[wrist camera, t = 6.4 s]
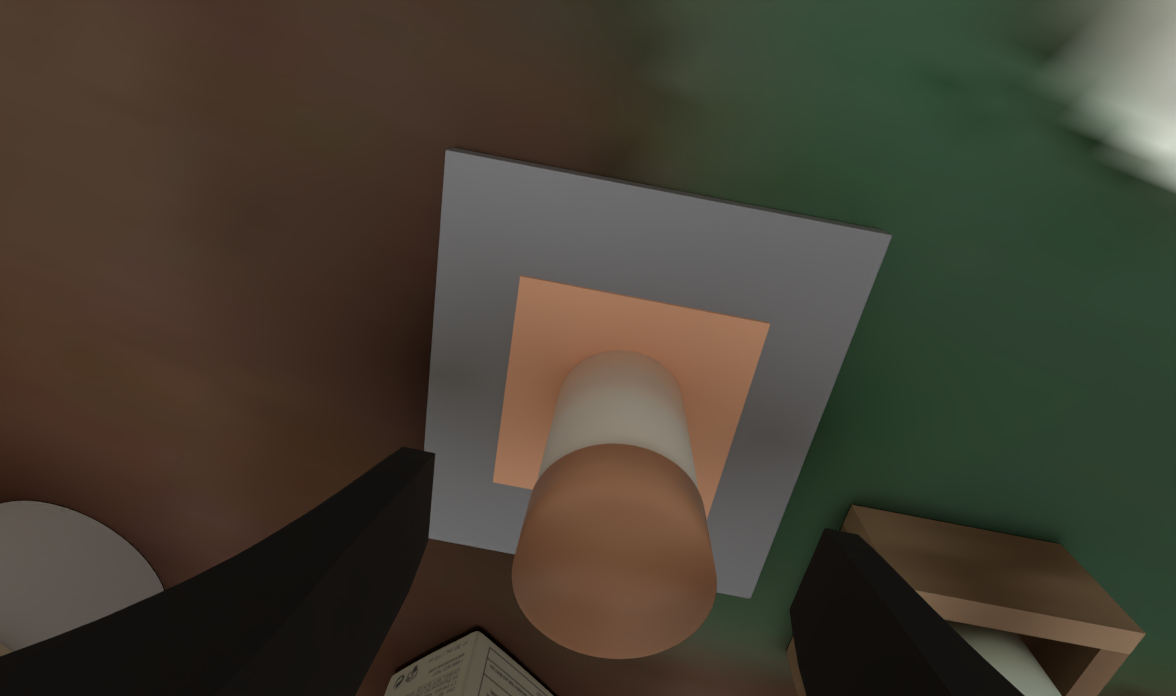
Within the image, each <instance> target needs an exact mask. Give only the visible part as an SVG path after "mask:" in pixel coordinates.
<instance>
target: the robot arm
mask: <svg viewBox="0 0 1176 696" xmlns="http://www.w3.org/2000/svg"><path fill="white" fill-rule="evenodd" d="M434 465H435V453H432V452H427V451H422V450H417V449H411V448H406V447H402V448H400V449H399V450H397V451H396V452H394V453H393V454H391V455H390V456H388V457H387V458H386V459H384V460H383V461H381V462H380V463H379V464H377V465H376V466H374V467H373V468H372V469H370V470H369V471H367V472H366V473H365V474H363V475H362V476H360V477H359V478H358V479H356V480H355V481H353V482H352V483H351V484H349V485H348V486H346V487H345V488H343V489H342V490H340V491H339V492H338V493H336V494H335V495H333V496H332V497H330V498H329V499H327V500H326V501H324V502H323V503H321V504H320V505H318V506H317V507H315V508H314V509H312V510H311V511H309V512H308V513H306V514H305V515H303V516H301V517H300V518H298V519H297V520H295V521H293V522H292V523H290V524H288V525H287V526H285V527H283V528H282V529H280V530H279V531H277V532H275V533H274V534H272V535H270V536H269V537H267V538H265V539H264V540H262V541H261V542H259V543H257V544H255V545H254V546H252V547H250V548H248V549H246V550H245V551H243V552H241V553H239V554H237V555H236V556H234V557H232V558H230V559H228V560H226V561H224V562H222V563H220V564H218V565H216V566H214V567H212V568H210V569H208V570H207V571H205V572H203V573H201V574H199V575H197V576H195V577H193V578H191V579H188V580H186V581H184V582H182V583H180V584H178V585H176V586H173V587H171V588H169V589H167V590H164V591H162V592H160V593H158V594H155V595H153V596H151V597H149V598H146V599H144V600H142V601H139V602H137V603H135V604H133V605H130V606H128V607H126V608H124V609H121V610H119V611H117V612H115V613H112V614H110V615H108V616H105V617H103V618H100V619H98V620H96V621H93V622H90V623H88V624H85V625H83V626H80V627H78V628H75V629H73V630H70V631H67V632H65V633H62V634H60V635H57V636H55V637H52V638H49V639H47V640H44V641H41V642H38V643H36V644H33V645H30V646H27V647H25V648H22V649H19V650H16V651H14V652H11V653H8V654H5V655H3V656H0V696H355V694H356V692H357V691H358V689H359V687H360V685H361V683H362V681H363V679H364V677H365V675H366V673H367V671H368V669H369V668H370V666H371V664H372V662H373V660H374V658H375V656H376V654H377V652H378V650H379V648H380V646H381V645H382V643H383V641H384V639H385V637H386V635H387V633H388V631H389V629H390V627H391V625H392V623H393V621H394V619H395V618H396V616H397V614H398V612H399V610H400V608H401V606H402V604H403V602H404V600H405V598H406V596H407V594H408V592H409V590H410V587H411V585H412V582H413V579H414V577H415V574H416V572H417V569H418V567H419V564H420V561H421V559H422V556H423V553H424V550H425V548H426V545H427V542H428V538H429V526H430V514H431V502H432V490H433V477H434ZM790 616H791V623H792V630H793V637H794V644H795V650H796V655H797V661H798V667H799V671H800V674H801V678H802V682H803V685H804V689H805V692H806V696H1025V695H1024V694H1022V693H1021V692H1020V691H1019V690H1018V689H1017V688H1016V687H1015V686H1014V685H1013V684H1012V683H1010V682H1009V681H1008V680H1007V679H1006V678H1005V677H1004V676H1003V675H1002V674H1001V673H1000V672H998V671H997V670H996V669H995V668H994V667H993V666H992V665H991V664H990V663H989V662H988V661H986V660H985V659H984V658H983V657H982V656H981V655H980V654H979V653H978V652H977V651H976V650H975V649H974V648H973V647H972V646H971V645H970V644H969V643H968V642H966V641H965V640H964V639H963V638H962V637H961V636H960V635H959V634H958V633H957V632H956V631H955V630H954V629H953V628H952V627H951V626H950V625H949V624H948V623H947V622H946V621H945V620H944V619H943V618H942V617H941V616H940V615H939V614H938V613H937V612H936V611H935V610H934V609H933V608H932V607H931V606H930V605H929V604H928V603H927V602H926V601H925V600H924V599H923V598H922V597H921V596H920V595H919V594H918V593H917V592H916V591H915V590H914V589H913V588H912V587H911V586H910V585H909V584H908V583H907V582H906V581H905V580H904V579H903V578H902V577H901V576H900V575H899V574H898V573H897V572H896V571H895V570H894V568H893V567H892V566H891V565H890V564H889V563H888V562H887V561H886V560H885V559H884V558H883V557H882V556H881V555H879V554H878V553H877V552H876V551H875V550H874V549H873V548H872V547H871V546H870V545H869V544H868V543H867V542H866V541H865V540H864V539H863V538H861V537H860V536H859V535H858V534H853V533H848V532H843V531H838V530H832V529H827V528H825V529H824V531H823V533H822V536H821V538H820V540H819V543H818V545H817V547H816V550H815V552H814V554H813V557H812V559H811V561H810V564H809V566H808V568H807V570H806V573H805V575H804V577H803V580H802V582H801V584H800V587H799V589H798V591H797V594H796V596H795V598H794V601H793V603H792V605H791V608H790Z"/></svg>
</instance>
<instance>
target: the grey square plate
mask: <svg viewBox="0 0 1176 696" xmlns="http://www.w3.org/2000/svg"><path fill="white" fill-rule="evenodd" d="M891 237H892V235H891V234H889V233H887V232H885V231H883V230H881V229H875V228H870V227H865V226H860V225H855V224H849V223H844V222H839V221H834V220H828V219H823V218H818V217H813V216H808V215H802V214H797V213H792V212H787V211H781V210H776V209H771V208H766V207H761V206H755V205H750V204H745V203H740V202H734V201H729V200H724V199H719V198H714V197H708V196H703V195H698V194H693V193H687V192H682V191H677V190H672V189H667V188H661V187H656V186H651V185H646V184H640V183H635V182H630V181H625V180H619V179H614V178H609V177H604V176H599V175H593V174H588V173H583V172H578V171H572V170H567V169H562V168H557V167H552V166H546V165H541V164H536V163H531V162H525V161H520V160H515V159H510V158H505V157H499V156H494V155H489V154H484V153H478V152H473V151H468V150H463V149H458V148H451V149H447V150H446V154H445V168H444V182H443V196H442V209H441V223H440V237H439V251H438V264H437V278H436V292H435V305H434V319H433V333H432V347H431V360H430V374H429V388H428V401H427V415H426V429H425V443H424V451H427V452H432V453H435V465H434V477H433V490H432V502H431V514H430V526H429V538H431V539H436V540H441V541H447V542H452V543H457V544H463V545H468V546H473V547H478V548H484V549H489V550H494V551H500V552H505V553H510V554H515V553H516V549H517V545H518V541H519V537H520V534H521V530H522V526H523V522H524V518H525V515H526V511H527V507H528V503H529V499H530V496H531V492H532V490H533V488H534V486H535V484H536V482H537V479H538V475H539V471H540V467H541V463H542V459H543V455H544V451H545V447H546V443H547V439H548V435H549V431H550V427H551V423H552V420H553V416H554V412H555V408H556V404H557V400H558V396H559V392H560V389H561V386H562V384H563V382H564V380H565V378H566V377H567V375H568V374H569V373H570V372H571V370H572V369H573V368H574V367H575V366H577V365H578V364H579V363H580V362H582V361H583V360H585V359H587V358H588V357H590V356H592V355H595V354H598V353H601V352H606V351H613V350H627V351H634V352H637V353H641V354H644V355H646V356H649V357H651V358H653V359H655V360H656V361H658V362H659V363H661V364H662V365H663V366H664V367H665V368H666V369H667V370H668V371H669V372H670V373H671V374H672V375H673V377H674V378H675V380H676V381H677V383H678V385H679V388H680V390H681V394H682V398H683V403H684V409H685V415H686V420H687V426H688V432H689V438H690V444H691V449H692V455H693V461H694V467H695V472H696V478H697V484H698V490H699V493H700V495H701V498H702V500H703V504H704V508H705V514H706V519H707V525H708V530H709V536H710V541H711V547H712V553H713V558H714V564H715V569H716V576H717V590H716V592H717V593H722V594H728V595H733V596H738V597H743V598H749V599H751V596H752V594H753V591H754V588H755V586H756V583H757V581H758V578H759V576H760V573H761V571H762V568H763V565H764V563H765V560H766V558H767V555H768V553H769V550H770V547H771V545H772V542H773V540H774V537H775V535H776V532H777V530H778V527H779V524H780V522H781V519H782V517H783V514H784V512H785V509H786V506H787V504H788V501H789V499H790V496H791V494H792V491H793V488H794V486H795V483H796V481H797V478H798V476H799V473H800V471H801V468H802V465H803V463H804V460H805V458H806V455H807V453H808V450H809V447H810V445H811V442H812V440H813V437H814V435H815V432H816V430H817V427H818V424H819V422H820V419H821V417H822V414H823V412H824V409H825V406H826V404H827V401H828V399H829V396H830V394H831V391H832V389H833V386H834V383H835V381H836V378H837V376H838V373H839V371H840V368H841V365H842V363H843V360H844V358H845V355H846V353H847V350H848V347H849V345H850V342H851V340H852V337H853V335H854V332H855V330H856V327H857V324H858V322H859V319H860V317H861V314H862V312H863V309H864V306H865V304H866V301H867V299H868V296H869V294H870V291H871V289H872V286H873V283H874V281H875V278H876V276H877V273H878V271H879V268H880V265H881V263H882V260H883V258H884V255H885V253H886V250H887V248H888V245H889V242H890V240H891Z"/></svg>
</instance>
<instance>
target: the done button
mask: <svg viewBox="0 0 1176 696" xmlns="http://www.w3.org/2000/svg"><path fill="white" fill-rule="evenodd" d="M944 620H945V619H944ZM945 621H946V622H947V623H948V624H949V625H950V626H951V627H952V628H953V629H954V630H955V631H956V632H957V633H958V634H959V635H960V636H961V637H962V638H963V639H964V640H965V641H966V642H968V643H969V644H970V645H971V646H972V647H973V648H974V649H975V650H976V651H977V652H978V653H979V654H980V655H981V656H982V657H983V658H984V659H985V660H986V661H988V662H989V663H990V664H991V665H992V666H993V667H994V668H995V669H996V670H997V671H998V672H1000V673H1001V674H1002V675H1003V676H1004V677H1005V678H1006V679H1007V680H1008V681H1009V682H1010V683H1012V684H1013V685H1014V686H1015V687H1016V688H1017V689H1018V690H1019V691H1020V692H1021V693H1022V694H1024V695H1025V696H1062V695H1061V694H1060V692H1059V691H1058V690H1057V688H1056V687H1055V685H1054V684H1053V683H1052V681H1051V680H1050V678H1049V677H1048V676H1047V674H1046V673H1045V671H1044V670H1043V669H1042V667H1041V666H1040V664H1039V663H1038V662H1037V660H1036V659H1035V657H1034V656H1033V655H1032V653H1031V652H1030V650H1029V649H1028V648H1027V646H1026V645H1025V643H1024V642H1023V641H1022V639H1021V638H1020V636H1019V635H1018V633H1014V632H1008V631H1003V630H998V629H992V628H987V627H982V626H977V625H971V624H966V623H961V622H955V621H950V620H945Z"/></svg>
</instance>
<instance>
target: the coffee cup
mask: <svg viewBox="0 0 1176 696" xmlns="http://www.w3.org/2000/svg"><path fill="white" fill-rule="evenodd" d="M162 591H164V589H163V586H162V584H161V582H160V580H159V578H158V577H157V575H156V573H155V572H154V570H153V569H152V567H151V566H150V565H149V564H148V562H147V561H146V560H145V559H144V558H143V556H142V555H141V554H140V553H139V552H138V551H137V550H136V549H135V548H134V547H133V546H132V545H130V544H129V543H128V542H127V541H126V540H124V539H123V538H122V537H121V536H119V535H118V534H117V533H115V532H114V531H112V530H111V529H109V528H108V527H106V526H105V525H103V524H101V523H99V522H98V521H96V520H94V519H92V518H90V517H88V516H86V515H83V514H81V513H79V512H76V511H74V510H71V509H68V508H65V507H62V506H58V505H54V504H50V503H44V502H37V501H12V502H6V503H2V504H0V656H3V655H5V654H8V653H11V652H14V651H16V650H19V649H22V648H25V647H27V646H30V645H33V644H36V643H38V642H41V641H44V640H47V639H49V638H52V637H55V636H57V635H60V634H62V633H65V632H67V631H70V630H73V629H75V628H78V627H80V626H83V625H85V624H88V623H90V622H93V621H96V620H98V619H100V618H103V617H105V616H108V615H110V614H112V613H115V612H117V611H119V610H121V609H124V608H126V607H128V606H130V605H133V604H135V603H137V602H139V601H142V600H144V599H146V598H149V597H151V596H153V595H155V594H158V593H160V592H162Z"/></svg>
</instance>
